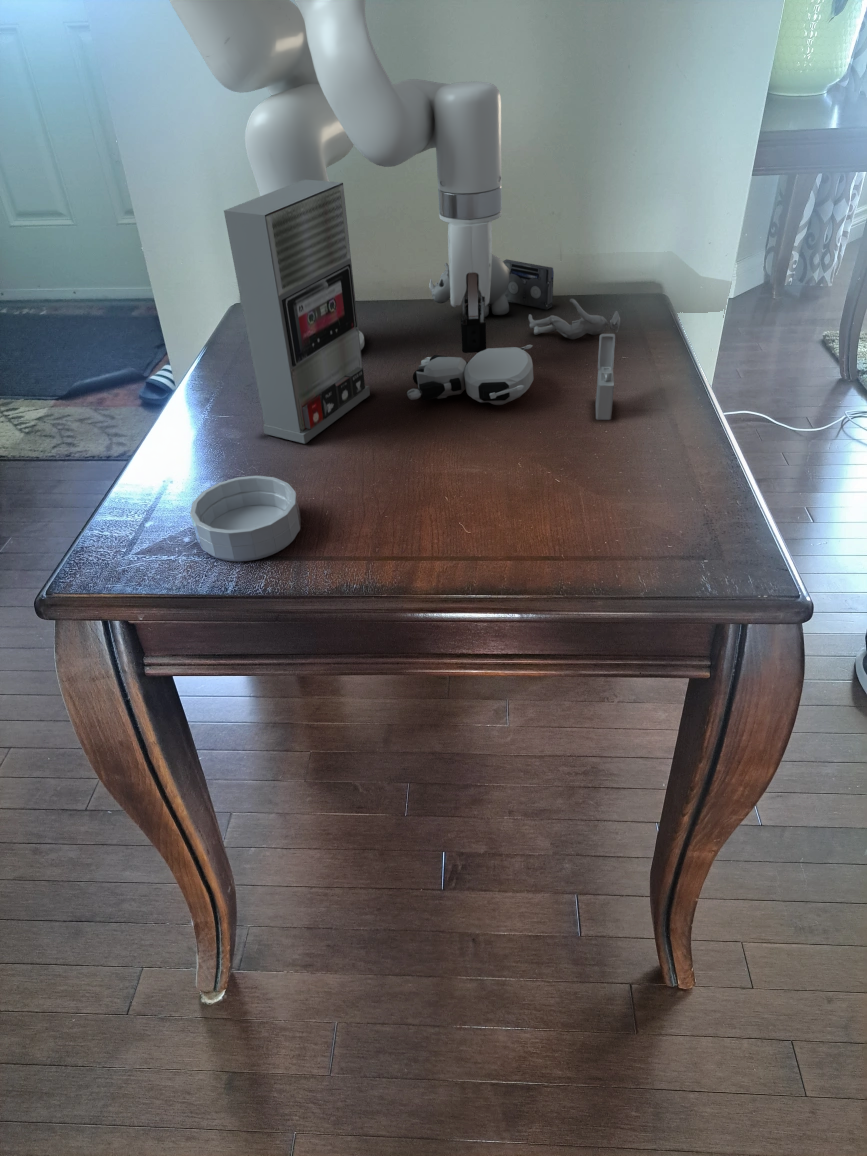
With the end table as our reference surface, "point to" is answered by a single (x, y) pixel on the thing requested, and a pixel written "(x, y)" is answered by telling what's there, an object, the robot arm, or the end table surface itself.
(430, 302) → the end table surface
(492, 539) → the end table surface
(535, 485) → the end table surface
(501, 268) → the chubby cartoon animal
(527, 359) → the robot toy
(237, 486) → the grey shallow bowl
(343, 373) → the cassette tape recorder
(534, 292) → the mini dv tape
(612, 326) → the soldier figure
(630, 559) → the end table surface
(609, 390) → the lighter
